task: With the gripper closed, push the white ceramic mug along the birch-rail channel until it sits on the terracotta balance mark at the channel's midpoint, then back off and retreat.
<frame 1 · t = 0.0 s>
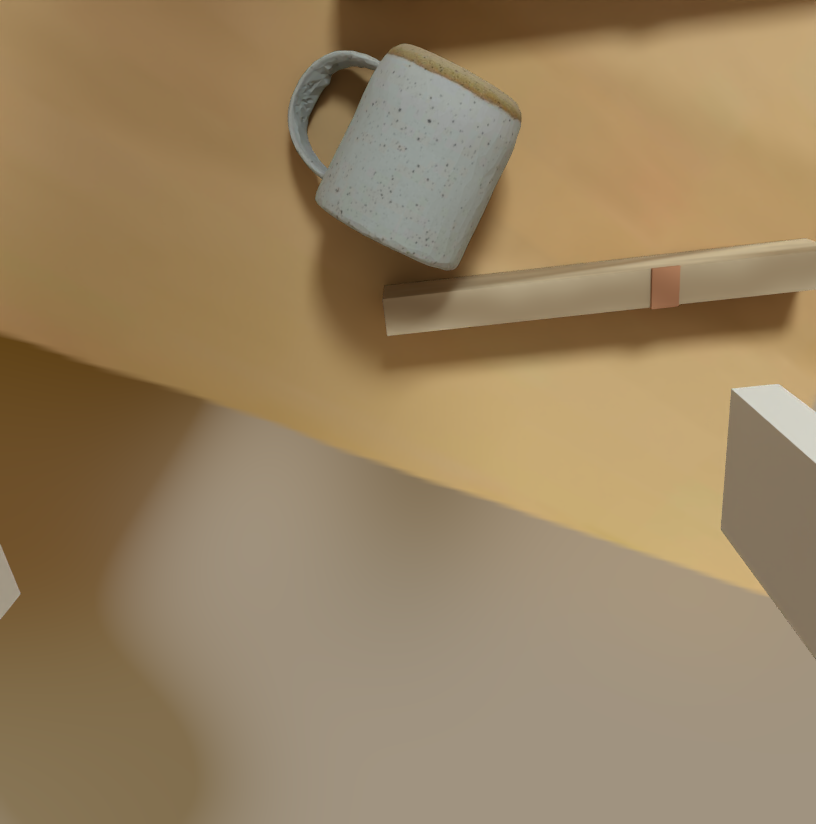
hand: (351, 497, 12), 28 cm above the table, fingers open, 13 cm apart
beam channel: (590, 125, 36), on the table
ceramic mug: (394, 148, 36), on the table
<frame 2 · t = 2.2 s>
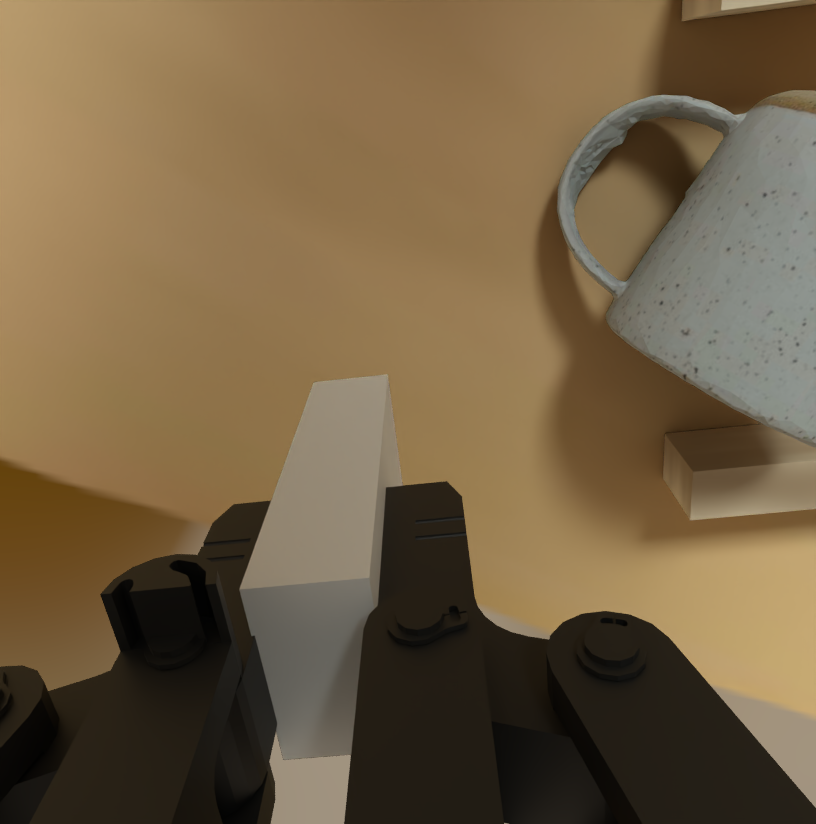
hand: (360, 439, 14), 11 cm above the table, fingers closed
ceramic mug: (695, 234, 24), on the table
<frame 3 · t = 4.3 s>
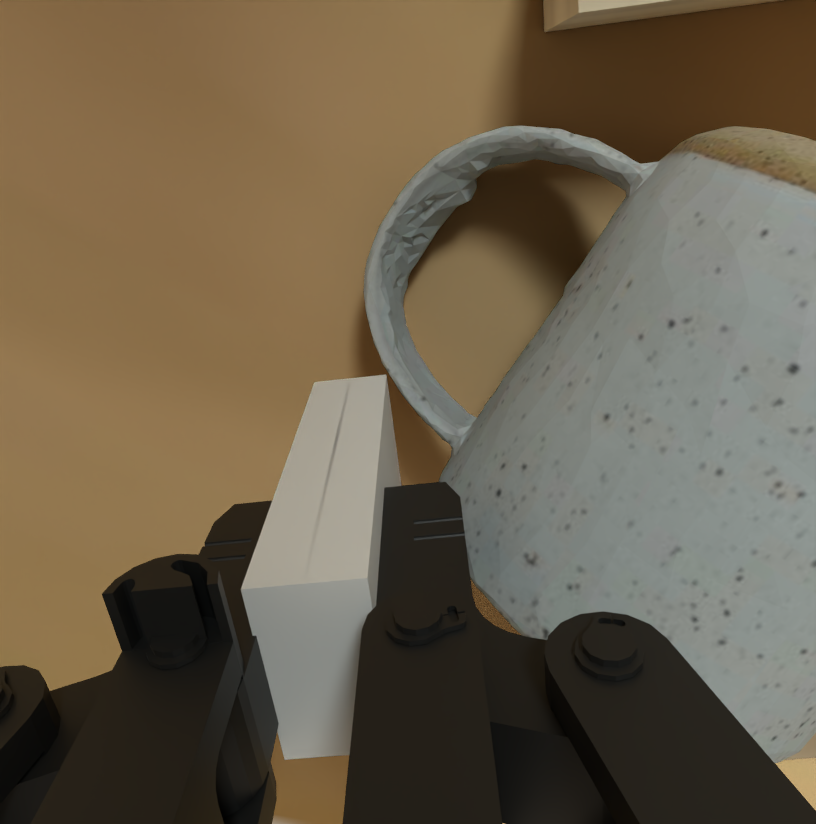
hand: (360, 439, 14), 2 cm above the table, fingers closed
ceramic mug: (600, 338, 16), on the table, touching gripper
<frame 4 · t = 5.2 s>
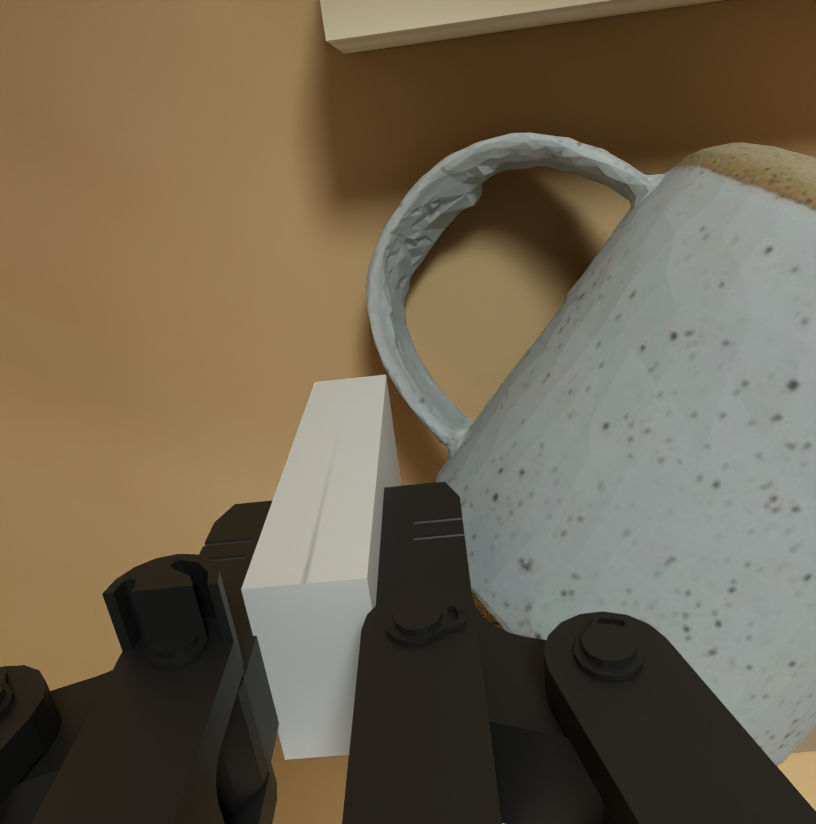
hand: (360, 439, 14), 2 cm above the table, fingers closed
ceramic mug: (598, 346, 16), on the table, touching gripper
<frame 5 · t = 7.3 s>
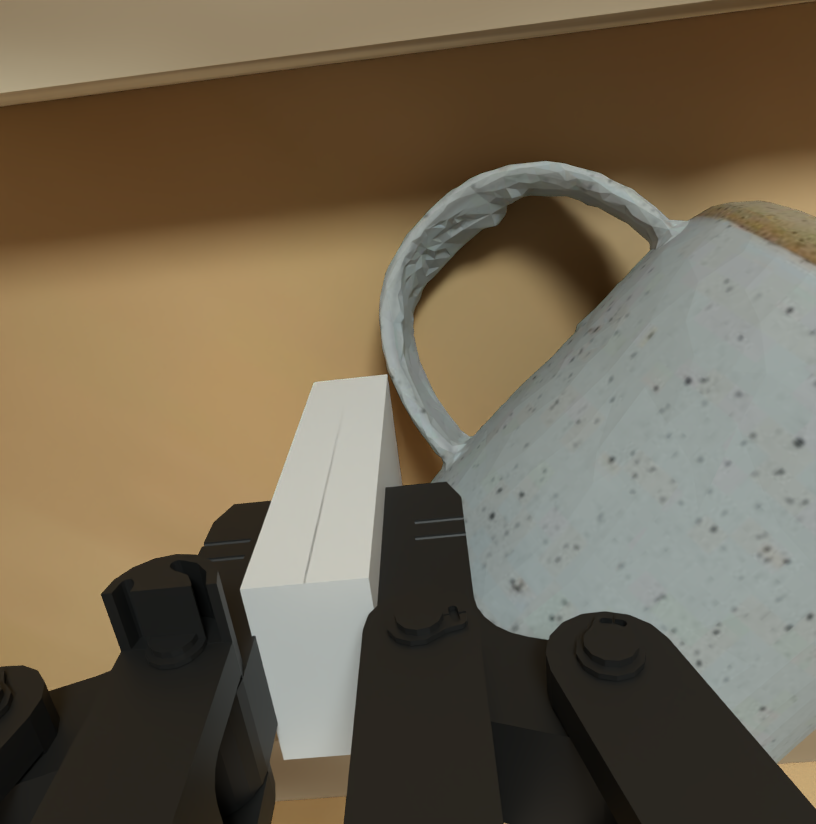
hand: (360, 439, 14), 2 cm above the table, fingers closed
beam channel: (564, 382, 16), on the table
ceramic mug: (595, 377, 16), on the table, touching gripper
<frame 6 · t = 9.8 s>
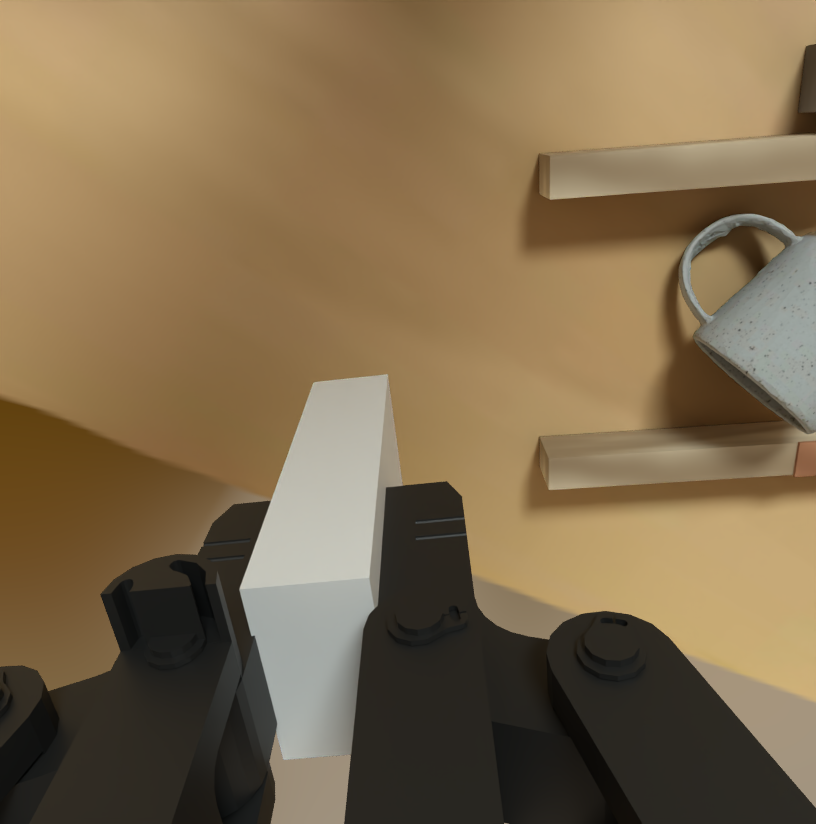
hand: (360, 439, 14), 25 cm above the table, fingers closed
beam channel: (746, 309, 39), on the table
ceramic mug: (749, 300, 39), on the table
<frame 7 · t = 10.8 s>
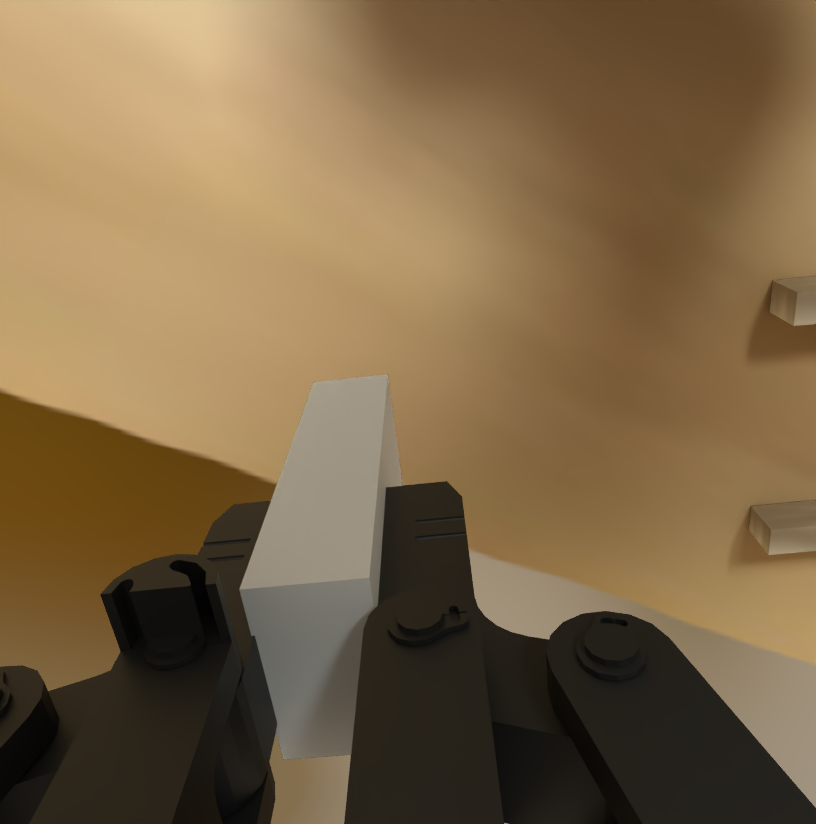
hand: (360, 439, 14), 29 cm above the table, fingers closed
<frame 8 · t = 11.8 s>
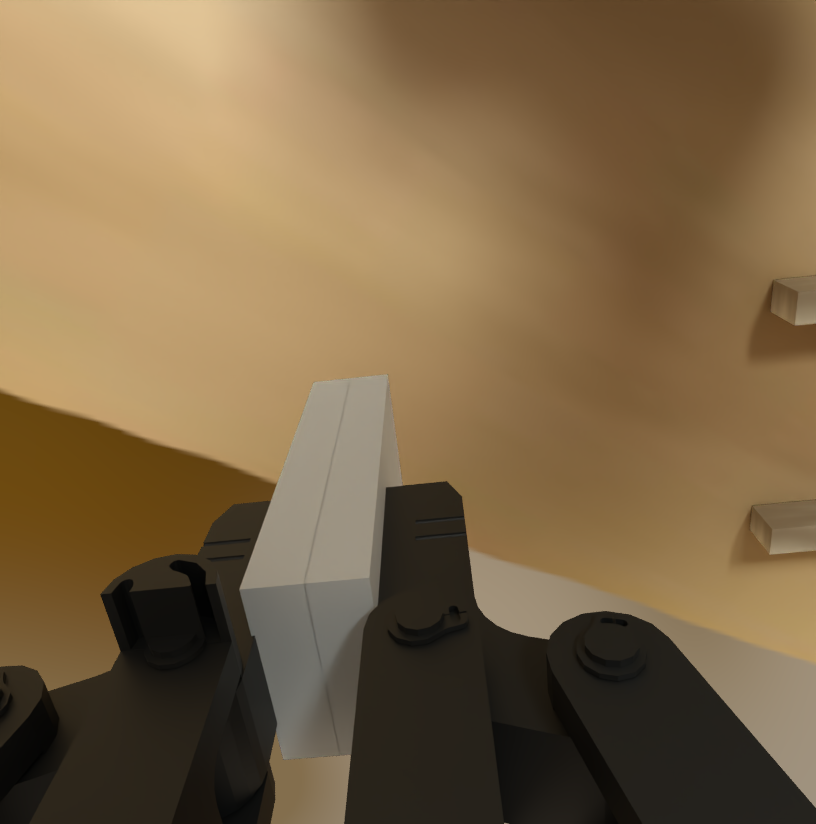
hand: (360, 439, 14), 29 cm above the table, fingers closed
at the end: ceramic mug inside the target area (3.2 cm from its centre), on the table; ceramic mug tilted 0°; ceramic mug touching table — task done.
